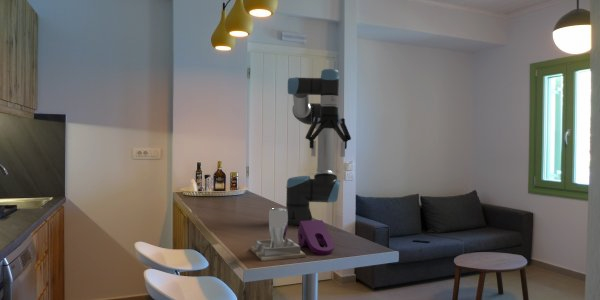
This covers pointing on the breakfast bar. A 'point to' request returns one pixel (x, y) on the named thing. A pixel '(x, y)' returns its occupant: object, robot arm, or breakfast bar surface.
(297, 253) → the cup holder
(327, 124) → the robot arm
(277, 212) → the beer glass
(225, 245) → the breakfast bar surface
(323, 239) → the mounting bracket
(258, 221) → the breakfast bar surface
